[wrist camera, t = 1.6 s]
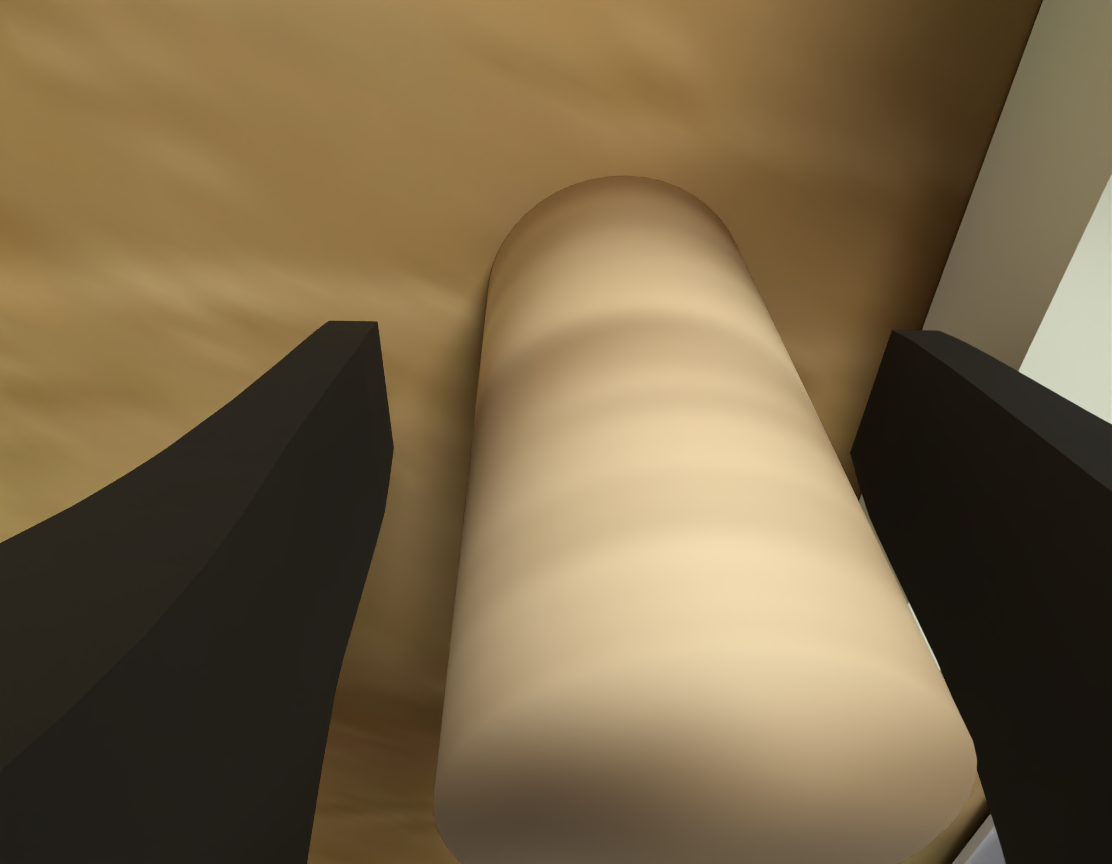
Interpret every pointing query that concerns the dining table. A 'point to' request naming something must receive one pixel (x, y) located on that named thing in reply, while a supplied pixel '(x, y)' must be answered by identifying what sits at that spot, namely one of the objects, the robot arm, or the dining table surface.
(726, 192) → the dining table surface
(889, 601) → the peg
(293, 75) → the dining table surface
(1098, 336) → the socket board
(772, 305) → the dining table surface
